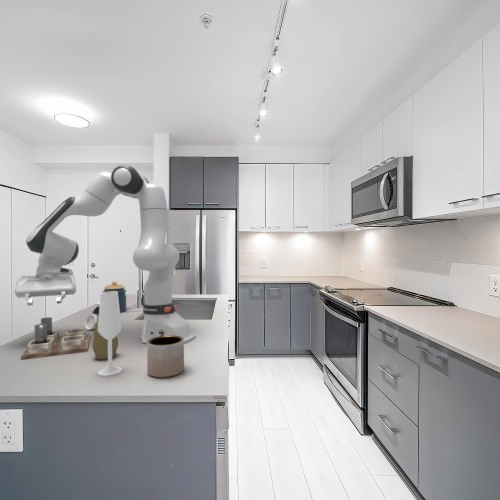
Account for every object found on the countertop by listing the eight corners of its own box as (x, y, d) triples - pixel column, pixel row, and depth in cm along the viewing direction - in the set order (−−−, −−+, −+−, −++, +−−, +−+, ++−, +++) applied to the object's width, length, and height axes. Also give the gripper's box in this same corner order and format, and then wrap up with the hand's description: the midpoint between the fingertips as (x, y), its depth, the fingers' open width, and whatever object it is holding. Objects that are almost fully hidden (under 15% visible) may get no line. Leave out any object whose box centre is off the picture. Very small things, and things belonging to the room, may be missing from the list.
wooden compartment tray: (90, 336, 133) (90, 312, 133) (87, 351, 115) (87, 323, 115) (34, 343, 125) (33, 317, 125) (20, 359, 107) (20, 329, 107)
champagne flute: (124, 372, 96) (123, 293, 95) (99, 377, 92) (98, 294, 92) (119, 365, 101) (118, 290, 101) (96, 369, 98) (95, 292, 97)
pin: (49, 349, 114) (49, 324, 114) (39, 352, 111) (39, 326, 110) (42, 348, 115) (42, 323, 115) (32, 351, 112) (32, 325, 112)
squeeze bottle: (93, 362, 104) (92, 307, 103) (92, 355, 111) (91, 303, 111) (119, 358, 107) (119, 305, 107) (117, 351, 115) (116, 301, 114)
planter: (184, 377, 92) (184, 344, 92) (145, 380, 90) (144, 346, 90) (184, 363, 103) (183, 334, 103) (149, 366, 101) (148, 336, 101)
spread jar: (119, 325, 153) (118, 301, 153) (106, 331, 142) (105, 305, 142) (95, 324, 154) (95, 300, 154) (80, 330, 143) (80, 305, 143)
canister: (97, 313, 180) (97, 282, 180) (111, 309, 193) (110, 279, 192) (118, 314, 178) (118, 282, 177) (130, 309, 190) (130, 280, 190)
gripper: (16, 271, 123) (9, 300, 114) (76, 269, 131) (74, 296, 122) (19, 281, 127) (13, 310, 118) (77, 279, 135) (75, 306, 126)
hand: (44, 303), depth 120 cm, fingers open, 8 cm apart
